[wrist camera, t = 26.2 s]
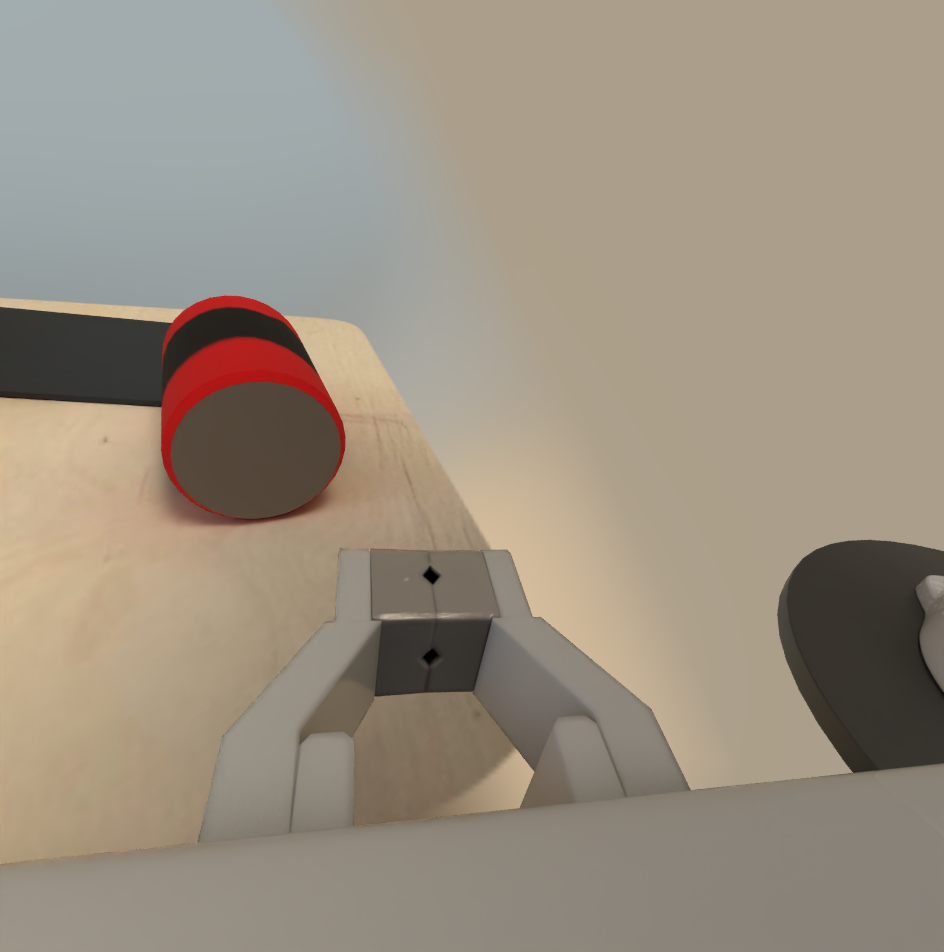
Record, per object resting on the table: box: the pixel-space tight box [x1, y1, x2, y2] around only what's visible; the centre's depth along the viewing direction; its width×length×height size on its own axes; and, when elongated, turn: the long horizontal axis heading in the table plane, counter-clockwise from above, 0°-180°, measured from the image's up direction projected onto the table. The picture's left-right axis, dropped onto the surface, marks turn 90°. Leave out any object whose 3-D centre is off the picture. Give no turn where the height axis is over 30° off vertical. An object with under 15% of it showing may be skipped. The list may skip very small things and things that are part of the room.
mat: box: [0, 307, 172, 406], centre depth 37 cm, size 24×14×1 cm, turn 100°
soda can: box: [161, 296, 345, 519], centre depth 28 cm, size 8×8×12 cm
